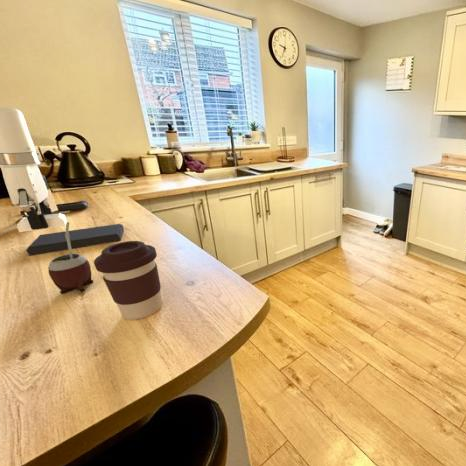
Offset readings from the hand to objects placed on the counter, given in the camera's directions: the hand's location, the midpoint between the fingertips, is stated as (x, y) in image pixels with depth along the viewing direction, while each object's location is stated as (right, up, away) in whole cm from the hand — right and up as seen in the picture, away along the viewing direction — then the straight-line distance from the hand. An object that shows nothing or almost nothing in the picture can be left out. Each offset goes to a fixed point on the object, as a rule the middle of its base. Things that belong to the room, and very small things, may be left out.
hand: (43, 224), depth 81 cm
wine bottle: (-32, +2, +32) cm, 45 cm away
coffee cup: (+41, -19, -18) cm, 49 cm away
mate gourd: (+19, -16, -10) cm, 27 cm away
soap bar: (0, -1, 0) cm, 1 cm away
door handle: (-41, +7, +45) cm, 61 cm away
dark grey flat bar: (-3, -5, +15) cm, 16 cm away
